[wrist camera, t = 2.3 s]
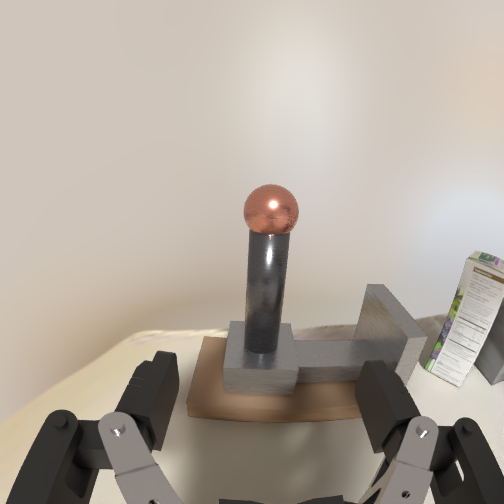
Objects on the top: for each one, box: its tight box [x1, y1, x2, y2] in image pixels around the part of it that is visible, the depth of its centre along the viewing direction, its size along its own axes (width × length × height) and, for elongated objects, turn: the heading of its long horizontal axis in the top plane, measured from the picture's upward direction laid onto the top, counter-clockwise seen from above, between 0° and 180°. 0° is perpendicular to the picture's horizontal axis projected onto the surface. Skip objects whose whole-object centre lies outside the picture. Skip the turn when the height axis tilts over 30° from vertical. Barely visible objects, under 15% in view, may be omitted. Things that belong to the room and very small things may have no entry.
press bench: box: [186, 297, 504, 422], centre depth 24 cm, size 38×10×9 cm, turn 89°
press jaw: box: [223, 185, 428, 394], centre depth 22 cm, size 16×10×17 cm, turn 89°
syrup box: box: [425, 251, 504, 387], centre depth 24 cm, size 6×6×14 cm
